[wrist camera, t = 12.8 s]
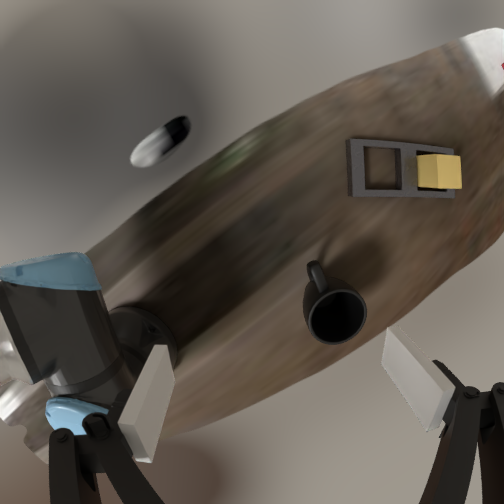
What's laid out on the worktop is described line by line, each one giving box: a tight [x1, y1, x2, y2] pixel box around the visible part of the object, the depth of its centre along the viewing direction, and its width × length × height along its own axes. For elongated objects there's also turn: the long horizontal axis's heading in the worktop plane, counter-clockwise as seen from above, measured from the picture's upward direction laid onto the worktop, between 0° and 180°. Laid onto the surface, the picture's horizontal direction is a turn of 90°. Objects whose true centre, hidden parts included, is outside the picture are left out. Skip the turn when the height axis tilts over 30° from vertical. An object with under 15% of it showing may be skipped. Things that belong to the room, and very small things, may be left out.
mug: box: [303, 260, 367, 345], centre depth 41 cm, size 8×12×10 cm
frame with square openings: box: [346, 139, 455, 198], centre depth 41 cm, size 20×8×2 cm, turn 93°
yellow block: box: [416, 154, 462, 189], centre depth 39 cm, size 5×5×7 cm
